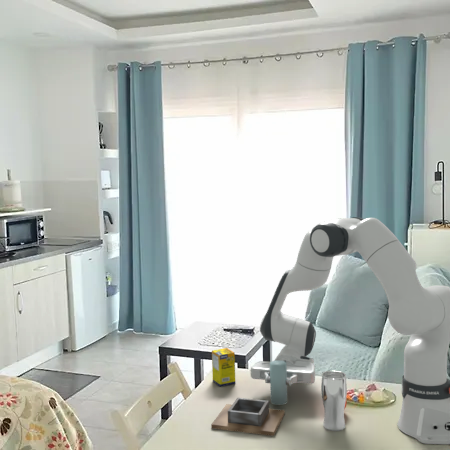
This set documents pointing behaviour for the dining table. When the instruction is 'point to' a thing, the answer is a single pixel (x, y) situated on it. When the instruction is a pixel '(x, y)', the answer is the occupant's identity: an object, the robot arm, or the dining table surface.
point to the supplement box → (223, 366)
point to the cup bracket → (249, 417)
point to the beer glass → (334, 399)
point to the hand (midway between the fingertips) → (277, 381)
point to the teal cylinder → (278, 382)
